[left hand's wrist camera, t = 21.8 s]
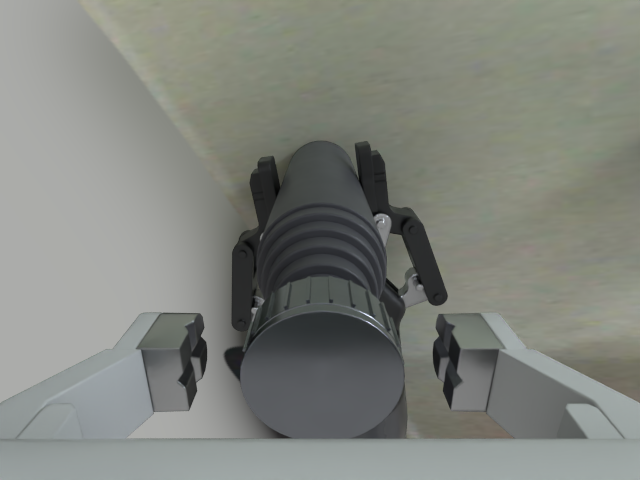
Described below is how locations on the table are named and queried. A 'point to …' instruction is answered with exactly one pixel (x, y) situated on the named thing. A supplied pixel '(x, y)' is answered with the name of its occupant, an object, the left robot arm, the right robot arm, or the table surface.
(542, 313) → the table surface
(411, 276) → the right robot arm
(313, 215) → the bottle
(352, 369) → the cap
